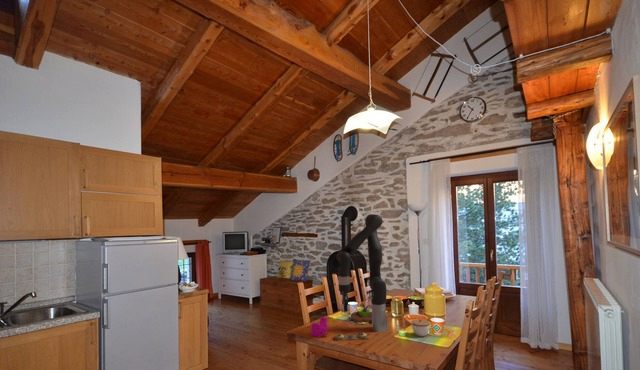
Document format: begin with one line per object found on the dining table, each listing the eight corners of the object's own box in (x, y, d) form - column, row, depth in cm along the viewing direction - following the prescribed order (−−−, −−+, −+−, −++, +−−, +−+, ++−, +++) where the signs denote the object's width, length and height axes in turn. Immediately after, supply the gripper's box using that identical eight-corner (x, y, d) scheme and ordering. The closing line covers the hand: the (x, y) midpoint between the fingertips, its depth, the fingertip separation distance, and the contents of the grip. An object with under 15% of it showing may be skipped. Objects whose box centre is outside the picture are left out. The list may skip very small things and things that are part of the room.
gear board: (366, 335, 220) (366, 330, 220) (368, 339, 214) (368, 334, 214) (333, 337, 218) (333, 332, 219) (334, 341, 212) (334, 336, 212)
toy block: (320, 337, 220) (320, 325, 220) (311, 336, 223) (311, 324, 223) (330, 329, 234) (330, 318, 234) (321, 328, 236) (321, 316, 237)
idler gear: (349, 309, 226) (348, 302, 227) (350, 312, 221) (350, 305, 221) (340, 310, 226) (340, 303, 226) (341, 312, 221) (341, 305, 221)
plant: (346, 316, 261) (346, 300, 261) (371, 313, 266) (370, 298, 266) (356, 324, 241) (356, 308, 242) (382, 321, 247) (382, 305, 247)
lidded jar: (413, 330, 227) (413, 315, 227) (431, 332, 222) (430, 317, 222) (410, 336, 217) (409, 320, 217) (428, 338, 212) (427, 323, 213)
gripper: (351, 285, 218) (352, 313, 217) (348, 280, 232) (349, 306, 231) (339, 285, 217) (340, 314, 216) (337, 280, 231) (338, 307, 231)
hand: (345, 310), depth 224 cm, fingers closed on idler gear, 5 cm apart
